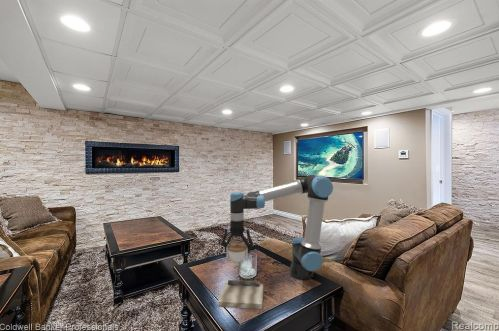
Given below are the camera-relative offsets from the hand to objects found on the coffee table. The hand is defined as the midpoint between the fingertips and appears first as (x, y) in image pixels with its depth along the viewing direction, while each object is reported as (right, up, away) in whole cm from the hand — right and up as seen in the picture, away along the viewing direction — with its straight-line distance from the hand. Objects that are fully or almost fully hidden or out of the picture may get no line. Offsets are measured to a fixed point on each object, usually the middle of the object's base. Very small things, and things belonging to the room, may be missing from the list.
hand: (237, 258), depth 127 cm
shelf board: (+3, -18, -7) cm, 19 cm away
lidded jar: (0, -1, 0) cm, 1 cm away
